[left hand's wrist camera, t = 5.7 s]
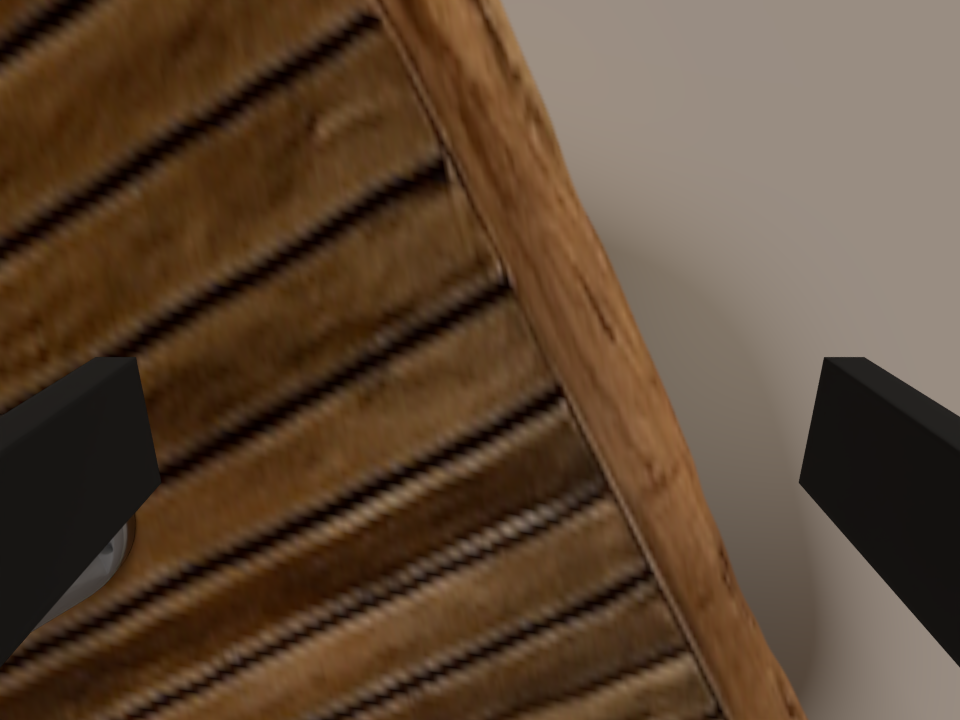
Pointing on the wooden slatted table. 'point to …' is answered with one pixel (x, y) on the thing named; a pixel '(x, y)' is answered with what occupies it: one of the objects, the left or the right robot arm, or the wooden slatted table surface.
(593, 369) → the wooden slatted table surface
